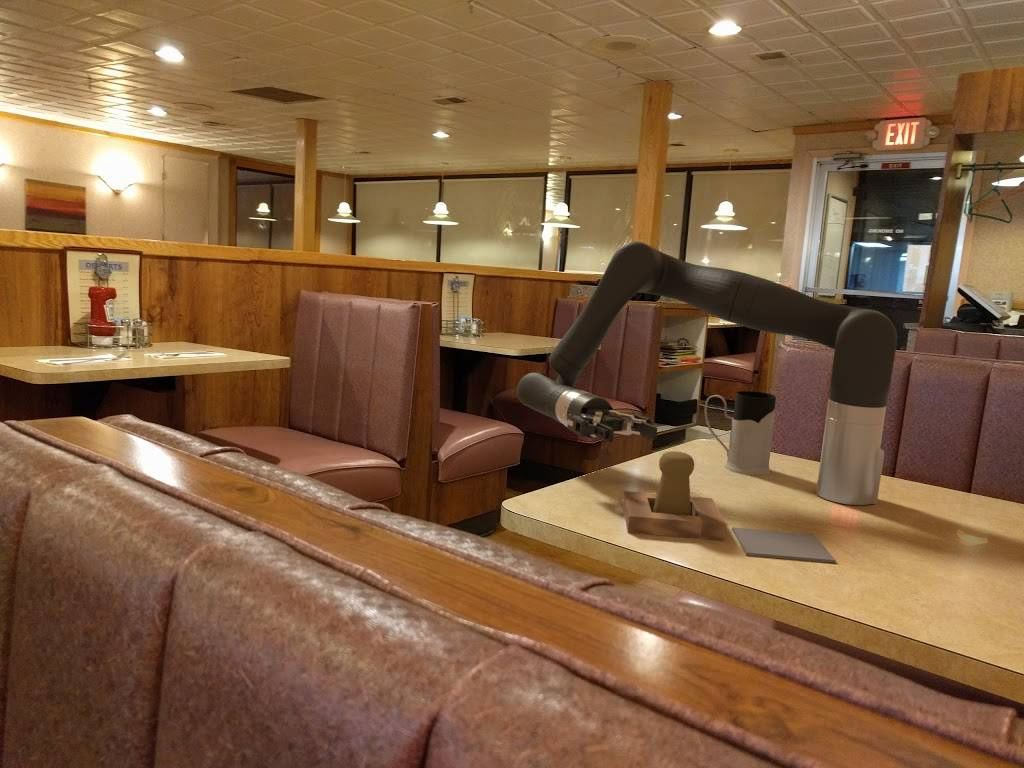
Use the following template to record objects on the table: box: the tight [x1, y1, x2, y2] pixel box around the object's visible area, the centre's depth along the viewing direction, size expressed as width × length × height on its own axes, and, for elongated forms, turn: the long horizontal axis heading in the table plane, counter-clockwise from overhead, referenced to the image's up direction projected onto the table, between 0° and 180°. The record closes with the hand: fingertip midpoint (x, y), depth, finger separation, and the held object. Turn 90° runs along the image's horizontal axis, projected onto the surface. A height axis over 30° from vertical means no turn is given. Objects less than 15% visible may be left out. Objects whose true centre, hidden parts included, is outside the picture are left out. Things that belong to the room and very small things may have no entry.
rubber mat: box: [731, 526, 837, 564], centre depth 109 cm, size 12×10×1 cm
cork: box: [653, 450, 695, 516], centre depth 115 cm, size 6×6×11 cm
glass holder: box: [704, 390, 777, 476], centre depth 150 cm, size 9×14×15 cm, turn 57°
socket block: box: [622, 490, 727, 542], centre depth 116 cm, size 14×12×2 cm
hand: (633, 434), depth 124 cm, fingers open, 8 cm apart
